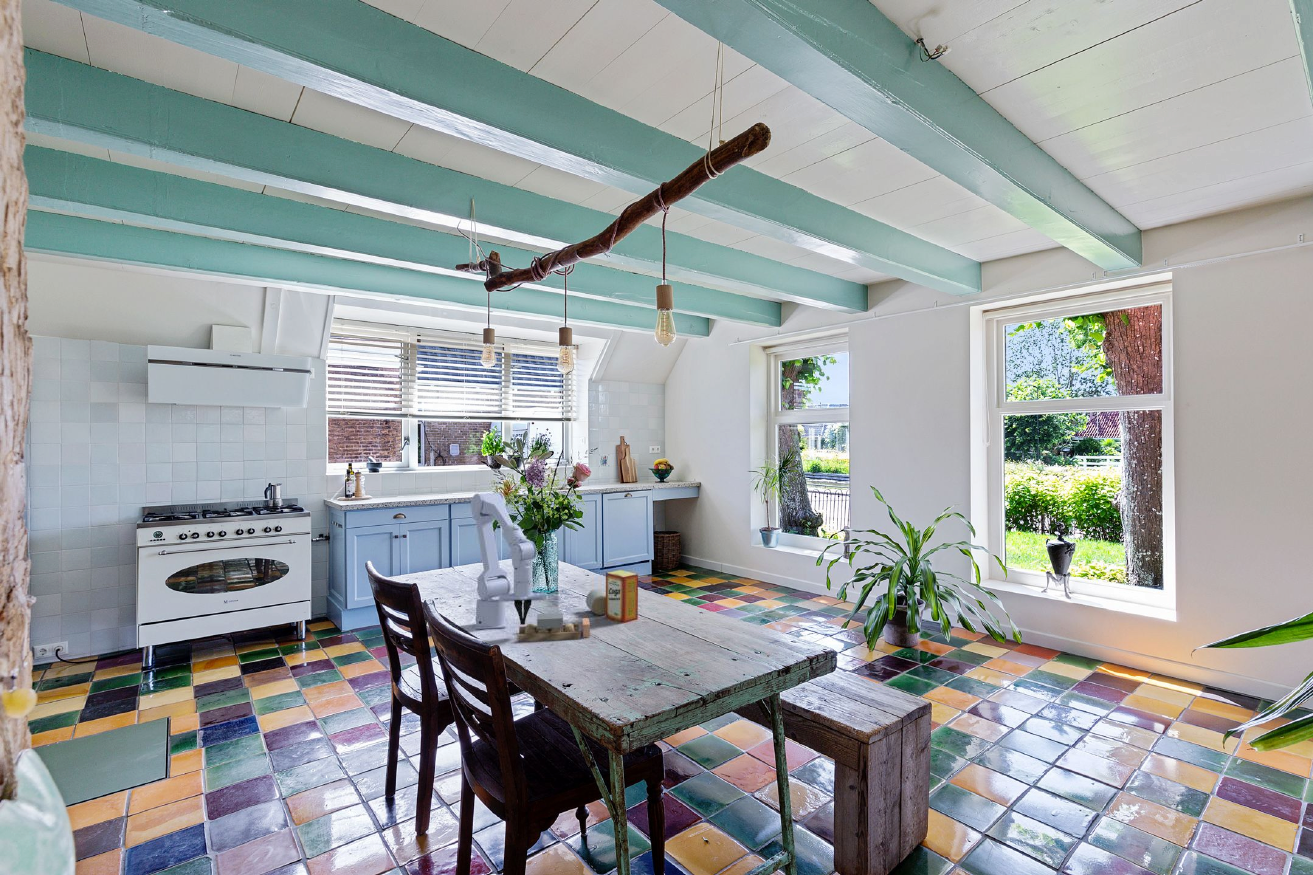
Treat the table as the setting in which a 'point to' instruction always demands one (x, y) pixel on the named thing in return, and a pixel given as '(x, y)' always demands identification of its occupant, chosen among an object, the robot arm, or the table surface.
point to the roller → (569, 627)
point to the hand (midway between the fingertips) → (522, 623)
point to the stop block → (585, 627)
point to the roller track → (546, 633)
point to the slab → (549, 620)
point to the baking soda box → (622, 596)
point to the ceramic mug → (597, 601)
